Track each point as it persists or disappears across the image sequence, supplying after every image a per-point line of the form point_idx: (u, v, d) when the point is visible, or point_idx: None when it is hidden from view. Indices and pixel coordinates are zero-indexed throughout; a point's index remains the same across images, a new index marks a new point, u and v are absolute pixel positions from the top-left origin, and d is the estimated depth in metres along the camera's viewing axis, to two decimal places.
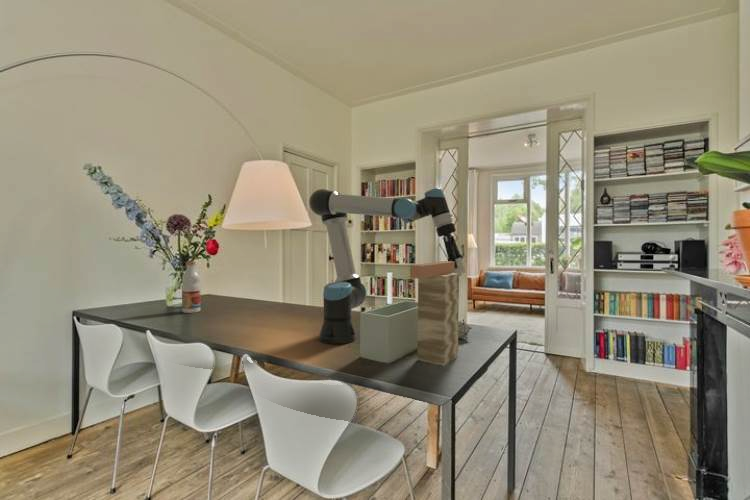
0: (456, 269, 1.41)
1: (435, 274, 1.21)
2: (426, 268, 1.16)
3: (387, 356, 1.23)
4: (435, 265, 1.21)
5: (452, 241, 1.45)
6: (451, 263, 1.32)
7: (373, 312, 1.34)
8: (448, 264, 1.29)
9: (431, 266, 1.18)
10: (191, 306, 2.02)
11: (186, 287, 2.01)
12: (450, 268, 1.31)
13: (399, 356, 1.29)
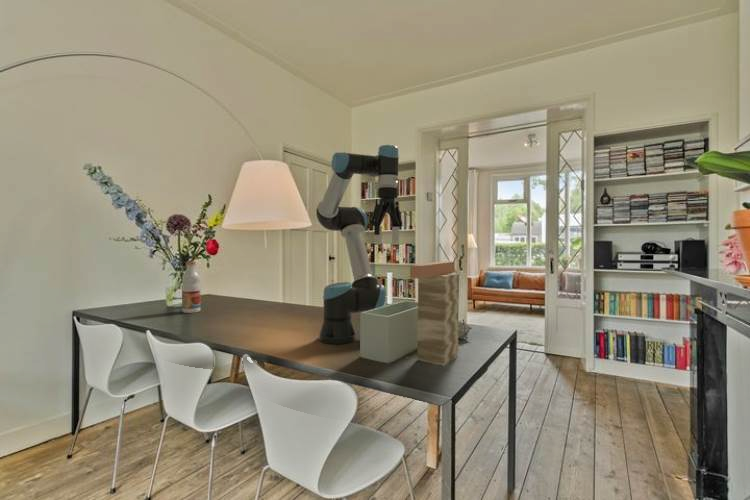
0: (377, 236, 1.32)
1: (435, 274, 1.21)
2: (426, 268, 1.16)
3: (387, 356, 1.23)
4: (435, 265, 1.21)
5: (387, 206, 1.34)
6: (451, 263, 1.32)
7: (373, 312, 1.34)
8: (448, 264, 1.29)
9: (431, 266, 1.18)
10: (191, 306, 2.02)
11: (186, 287, 2.01)
12: (450, 268, 1.31)
13: (399, 356, 1.29)
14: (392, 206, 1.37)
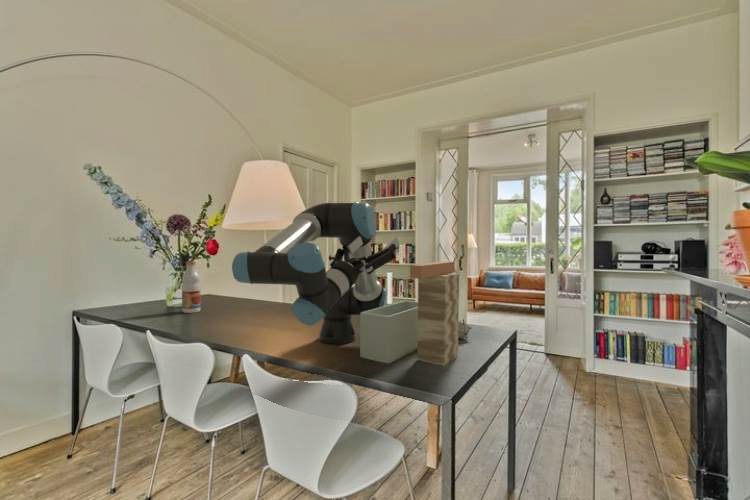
0: None
1: (435, 274, 1.21)
2: (426, 268, 1.16)
3: (387, 356, 1.23)
4: (435, 265, 1.21)
5: None
6: (451, 263, 1.32)
7: (373, 312, 1.34)
8: (448, 264, 1.29)
9: (431, 266, 1.18)
10: (191, 306, 2.02)
11: (186, 287, 2.01)
12: (450, 268, 1.31)
13: (399, 356, 1.29)
14: None
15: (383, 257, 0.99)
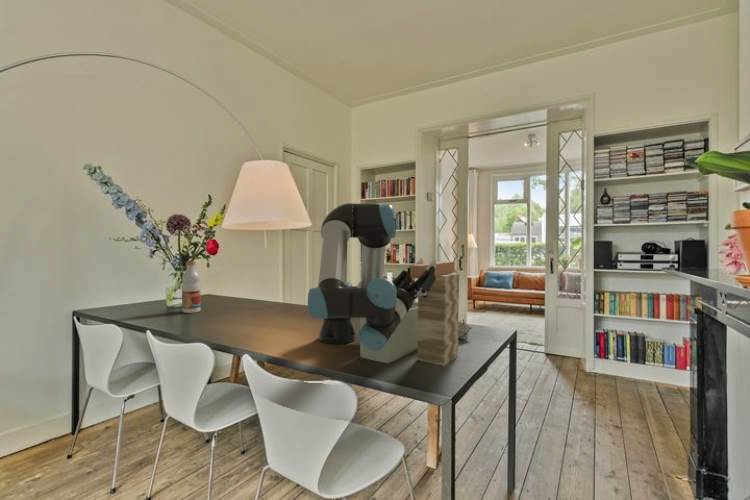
0: None
1: (435, 274, 1.21)
2: None
3: (387, 356, 1.23)
4: None
5: None
6: (451, 263, 1.32)
7: None
8: (448, 264, 1.29)
9: None
10: (191, 306, 2.02)
11: (186, 287, 2.01)
12: (450, 268, 1.31)
13: (399, 356, 1.29)
14: None
15: (430, 280, 1.10)
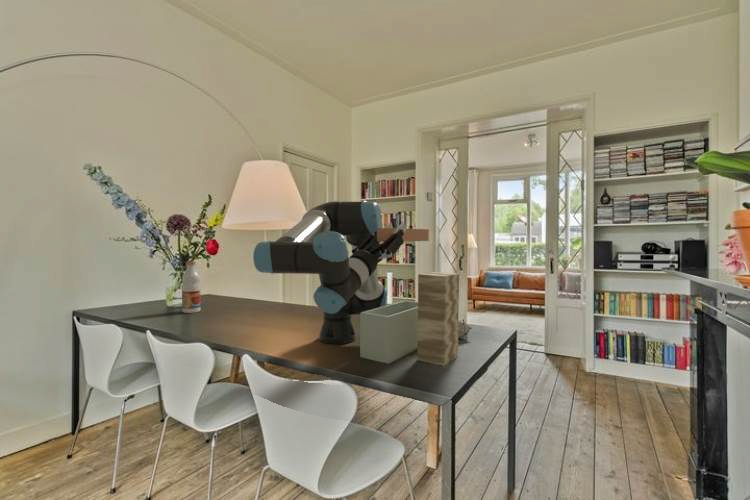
0: None
1: (405, 239, 1.13)
2: None
3: (387, 356, 1.23)
4: None
5: None
6: (424, 230, 1.24)
7: (373, 312, 1.34)
8: (421, 231, 1.22)
9: None
10: (191, 306, 2.02)
11: (186, 287, 2.01)
12: (423, 236, 1.23)
13: (399, 356, 1.29)
14: None
15: (396, 242, 1.02)
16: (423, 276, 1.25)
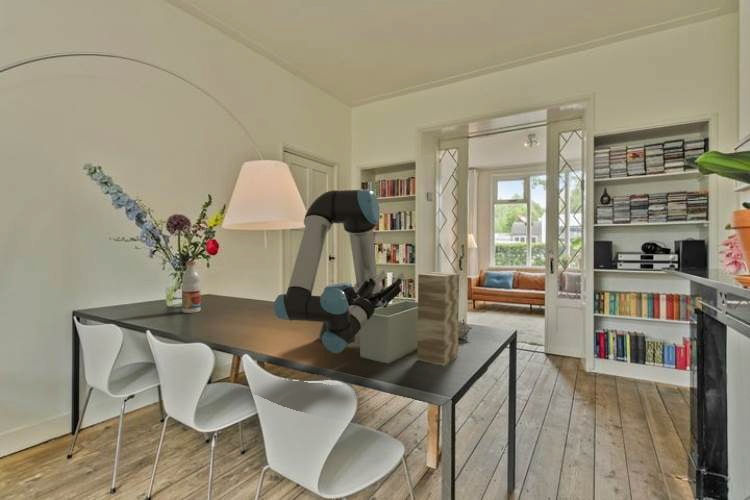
0: None
1: None
2: None
3: (387, 356, 1.23)
4: None
5: None
6: None
7: None
8: None
9: None
10: (191, 306, 2.02)
11: (186, 287, 2.01)
12: None
13: (399, 356, 1.29)
14: None
15: (393, 291, 1.21)
16: (423, 276, 1.25)
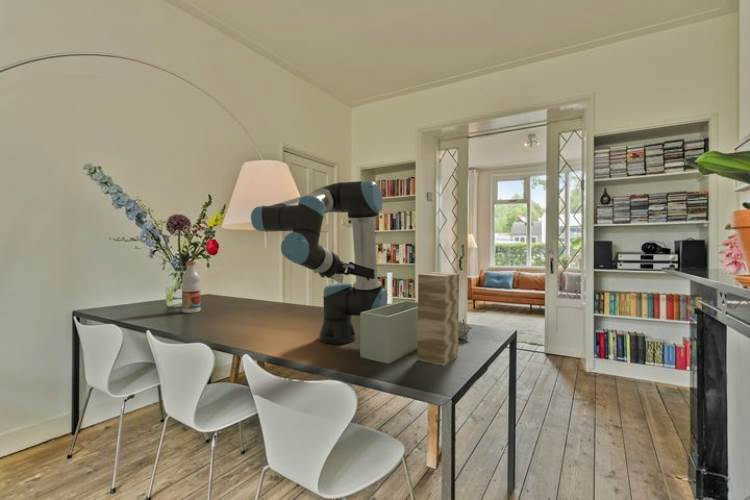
0: None
1: None
2: None
3: (387, 356, 1.23)
4: None
5: None
6: None
7: (373, 312, 1.34)
8: None
9: None
10: (191, 306, 2.02)
11: (186, 287, 2.01)
12: None
13: (399, 356, 1.29)
14: None
15: (365, 268, 1.13)
16: (423, 276, 1.25)
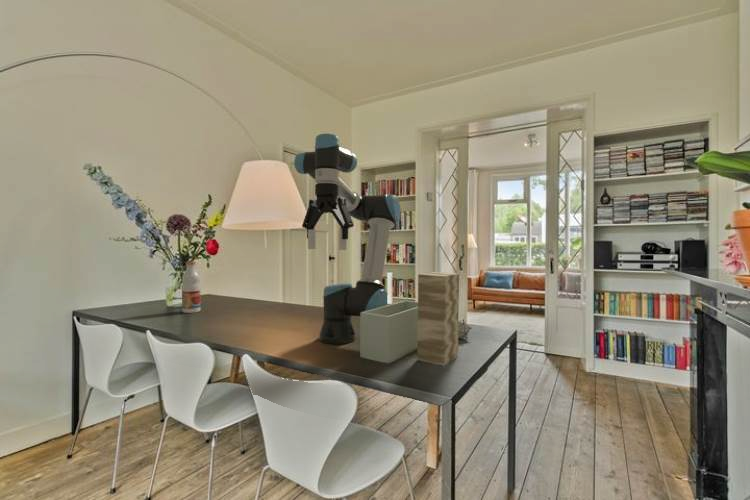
0: None
1: None
2: None
3: (387, 356, 1.23)
4: None
5: (317, 207, 1.18)
6: None
7: (373, 312, 1.34)
8: None
9: None
10: (191, 306, 2.02)
11: (186, 287, 2.01)
12: None
13: (399, 356, 1.29)
14: None
15: (349, 214, 1.13)
16: (423, 276, 1.25)
